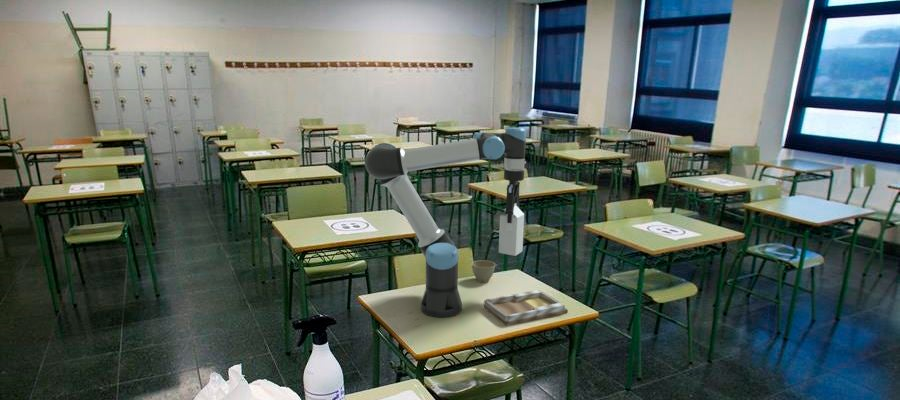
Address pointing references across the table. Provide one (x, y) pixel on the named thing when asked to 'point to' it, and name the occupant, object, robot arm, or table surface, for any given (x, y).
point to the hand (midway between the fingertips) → (511, 228)
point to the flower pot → (483, 270)
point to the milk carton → (511, 233)
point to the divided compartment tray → (524, 307)
